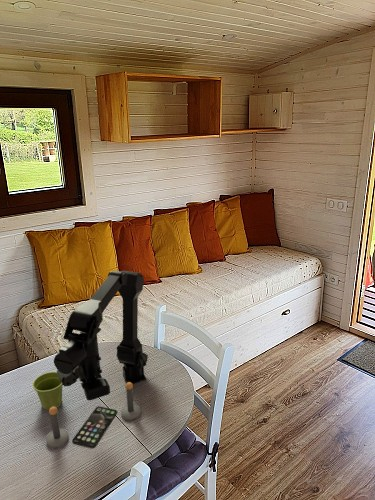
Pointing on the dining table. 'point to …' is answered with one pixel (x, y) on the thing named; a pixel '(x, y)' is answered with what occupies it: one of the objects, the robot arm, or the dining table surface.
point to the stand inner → (130, 405)
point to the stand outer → (56, 432)
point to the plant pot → (49, 390)
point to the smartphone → (94, 427)
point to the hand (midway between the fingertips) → (92, 398)
